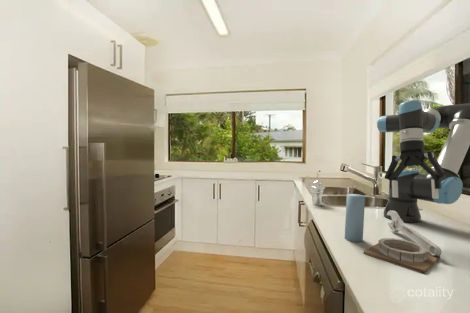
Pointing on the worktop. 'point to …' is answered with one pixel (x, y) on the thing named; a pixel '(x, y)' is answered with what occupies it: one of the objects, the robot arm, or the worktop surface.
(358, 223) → the post
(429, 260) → the collar board
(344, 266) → the worktop surface
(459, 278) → the worktop surface
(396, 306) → the worktop surface
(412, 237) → the wrench
